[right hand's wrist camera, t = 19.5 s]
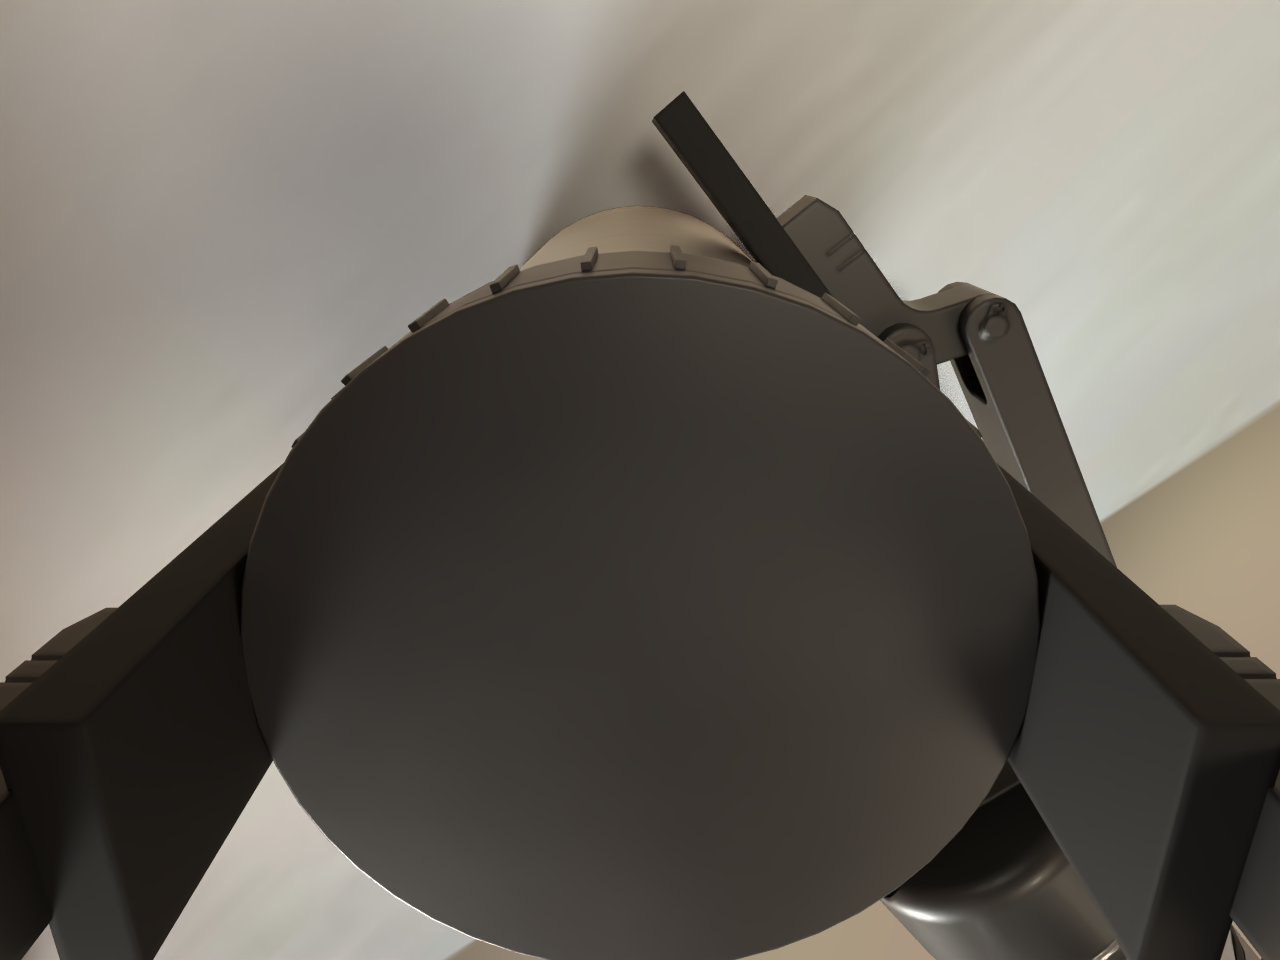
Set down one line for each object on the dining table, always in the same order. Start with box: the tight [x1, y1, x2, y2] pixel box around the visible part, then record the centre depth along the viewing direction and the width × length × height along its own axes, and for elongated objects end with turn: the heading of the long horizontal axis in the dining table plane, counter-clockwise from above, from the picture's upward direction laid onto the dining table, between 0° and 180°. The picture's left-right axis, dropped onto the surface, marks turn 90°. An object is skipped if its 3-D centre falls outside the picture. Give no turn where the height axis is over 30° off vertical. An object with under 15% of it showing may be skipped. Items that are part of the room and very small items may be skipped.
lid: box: [240, 245, 1040, 960], centre depth 11 cm, size 9×9×2 cm
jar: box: [519, 206, 752, 271], centre depth 19 cm, size 8×8×17 cm
